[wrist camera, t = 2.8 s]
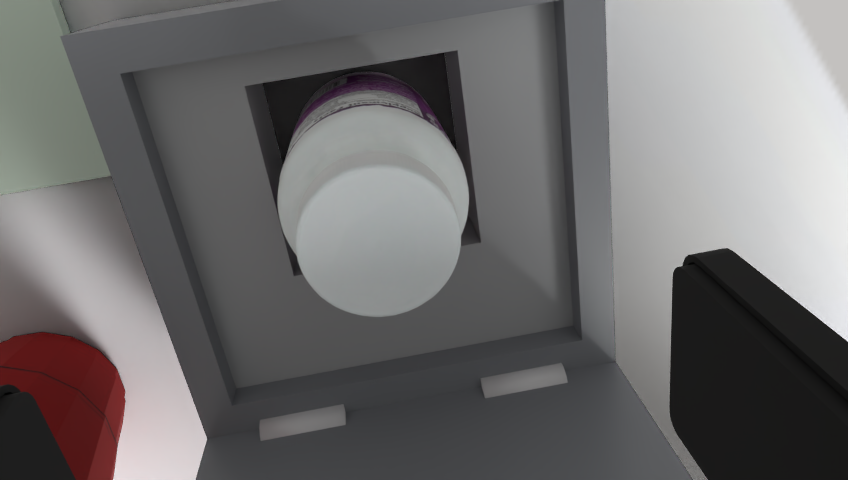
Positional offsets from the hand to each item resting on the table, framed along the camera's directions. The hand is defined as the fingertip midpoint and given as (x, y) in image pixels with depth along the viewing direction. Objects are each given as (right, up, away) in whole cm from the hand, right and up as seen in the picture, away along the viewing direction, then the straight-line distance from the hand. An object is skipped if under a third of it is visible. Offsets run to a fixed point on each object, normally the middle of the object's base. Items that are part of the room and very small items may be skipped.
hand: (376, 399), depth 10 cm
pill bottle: (-1, +6, +15) cm, 16 cm away
